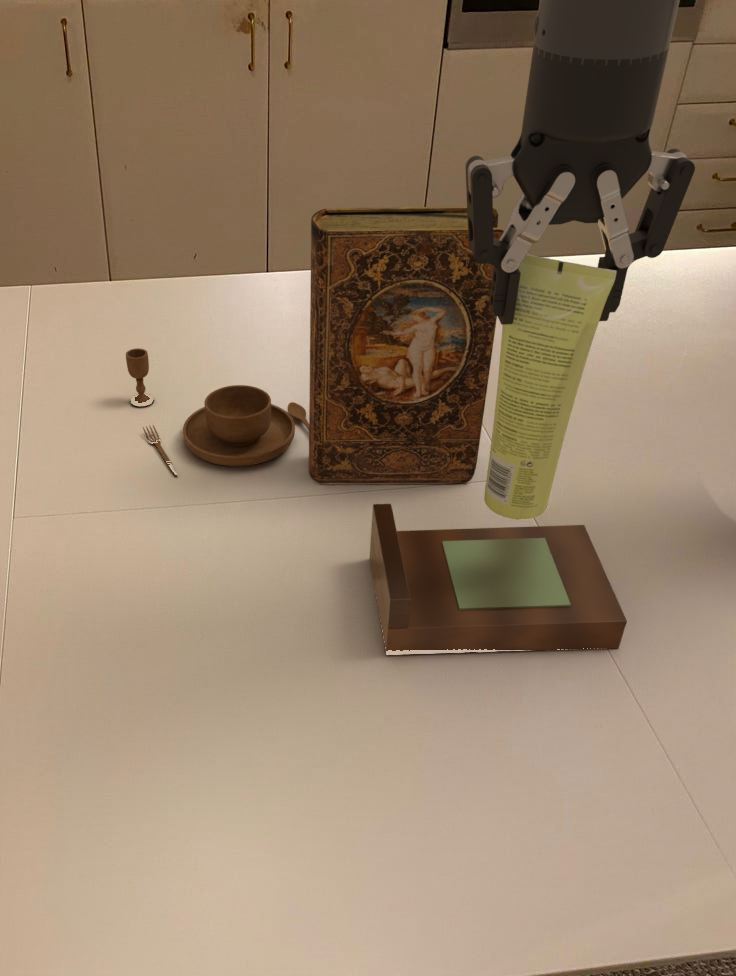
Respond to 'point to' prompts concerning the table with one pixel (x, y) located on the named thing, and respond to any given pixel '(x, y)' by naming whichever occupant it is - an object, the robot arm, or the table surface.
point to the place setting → (229, 421)
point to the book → (397, 346)
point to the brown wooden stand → (491, 588)
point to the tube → (540, 379)
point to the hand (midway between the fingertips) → (551, 317)
